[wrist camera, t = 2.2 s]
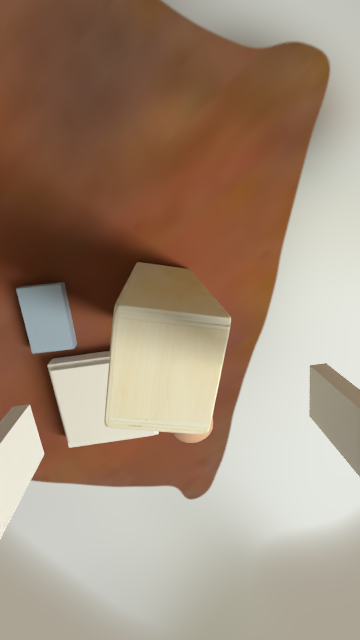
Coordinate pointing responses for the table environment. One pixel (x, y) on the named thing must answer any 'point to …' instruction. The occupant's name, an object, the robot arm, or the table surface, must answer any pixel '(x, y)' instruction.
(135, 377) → the tall cream block
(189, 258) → the table surface
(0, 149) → the table surface
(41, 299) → the book
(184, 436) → the peach egg shape
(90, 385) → the podium
